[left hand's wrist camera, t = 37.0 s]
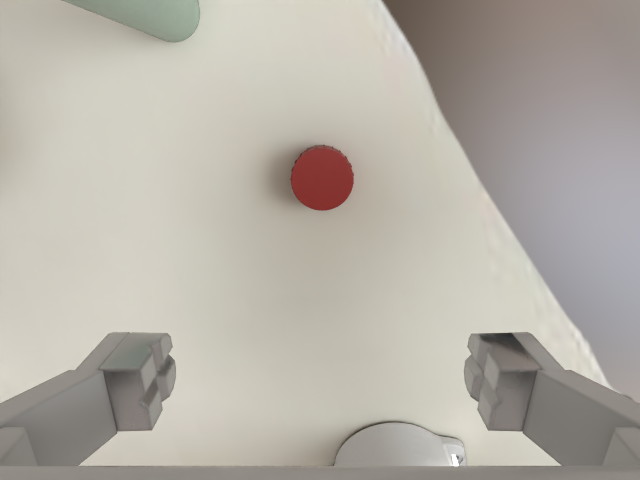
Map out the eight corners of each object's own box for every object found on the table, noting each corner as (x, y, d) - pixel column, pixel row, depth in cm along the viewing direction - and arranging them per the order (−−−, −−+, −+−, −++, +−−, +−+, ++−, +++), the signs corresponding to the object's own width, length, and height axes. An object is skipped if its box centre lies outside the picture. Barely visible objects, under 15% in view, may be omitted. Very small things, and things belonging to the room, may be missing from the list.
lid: (293, 204, 37) (291, 211, 35) (291, 144, 36) (289, 147, 33) (351, 204, 37) (353, 211, 35) (352, 144, 36) (354, 147, 33)
